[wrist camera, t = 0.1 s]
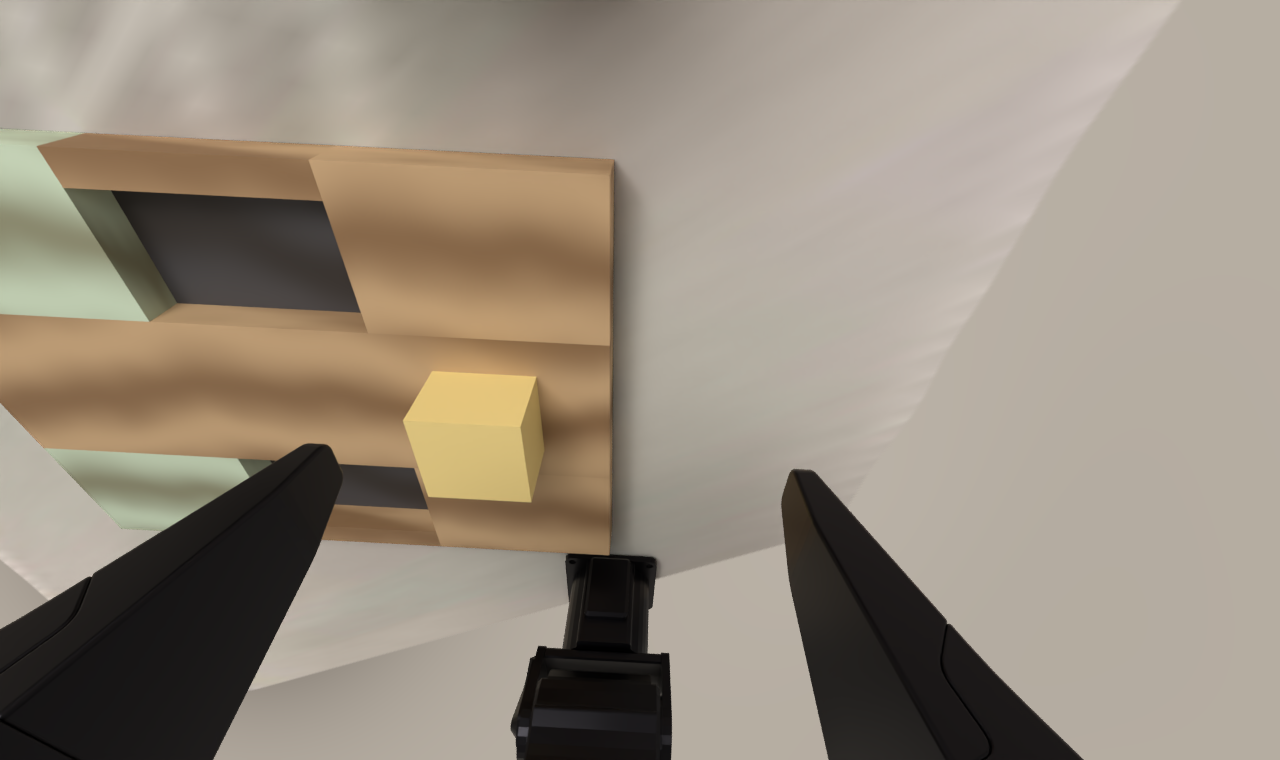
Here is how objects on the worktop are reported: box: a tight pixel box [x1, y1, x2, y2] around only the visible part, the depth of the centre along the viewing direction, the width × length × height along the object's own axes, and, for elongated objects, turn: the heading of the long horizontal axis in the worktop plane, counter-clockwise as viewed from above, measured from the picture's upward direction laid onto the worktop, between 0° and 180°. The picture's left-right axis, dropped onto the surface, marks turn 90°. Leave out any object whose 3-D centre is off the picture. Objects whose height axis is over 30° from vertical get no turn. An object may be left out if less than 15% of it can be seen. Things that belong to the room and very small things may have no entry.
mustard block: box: [403, 371, 544, 502], centre depth 25 cm, size 5×5×4 cm
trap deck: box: [0, 129, 614, 555], centre depth 27 cm, size 24×32×2 cm
